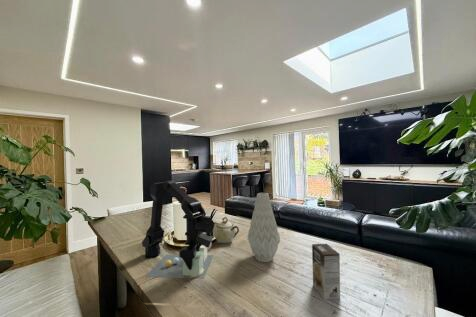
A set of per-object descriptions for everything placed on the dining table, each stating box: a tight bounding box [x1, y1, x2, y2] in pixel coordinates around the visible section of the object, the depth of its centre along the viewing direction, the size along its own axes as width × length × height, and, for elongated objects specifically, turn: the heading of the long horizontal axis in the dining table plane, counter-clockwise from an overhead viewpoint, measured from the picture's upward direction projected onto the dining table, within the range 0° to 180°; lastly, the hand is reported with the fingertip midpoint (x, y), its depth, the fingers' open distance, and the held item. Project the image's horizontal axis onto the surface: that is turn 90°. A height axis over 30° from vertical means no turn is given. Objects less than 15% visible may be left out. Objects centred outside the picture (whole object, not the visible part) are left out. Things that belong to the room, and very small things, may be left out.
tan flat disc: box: [184, 268, 204, 277], centre depth 90 cm, size 9×9×1 cm
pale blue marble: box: [173, 257, 179, 264], centre depth 97 cm, size 3×3×3 cm
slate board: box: [144, 253, 215, 280], centre depth 96 cm, size 26×21×1 cm
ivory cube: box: [199, 245, 208, 262], centre depth 102 cm, size 7×7×7 cm
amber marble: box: [165, 260, 172, 267], centre depth 95 cm, size 3×3×3 cm
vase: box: [246, 192, 281, 263], centre depth 103 cm, size 17×17×33 cm
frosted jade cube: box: [183, 251, 203, 275], centre depth 90 cm, size 7×7×7 cm
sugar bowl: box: [212, 216, 240, 244], centre depth 125 cm, size 20×15×15 cm
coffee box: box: [311, 243, 341, 300], centre depth 76 cm, size 9×6×16 cm
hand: (193, 264), depth 90 cm, fingers open, 9 cm apart
